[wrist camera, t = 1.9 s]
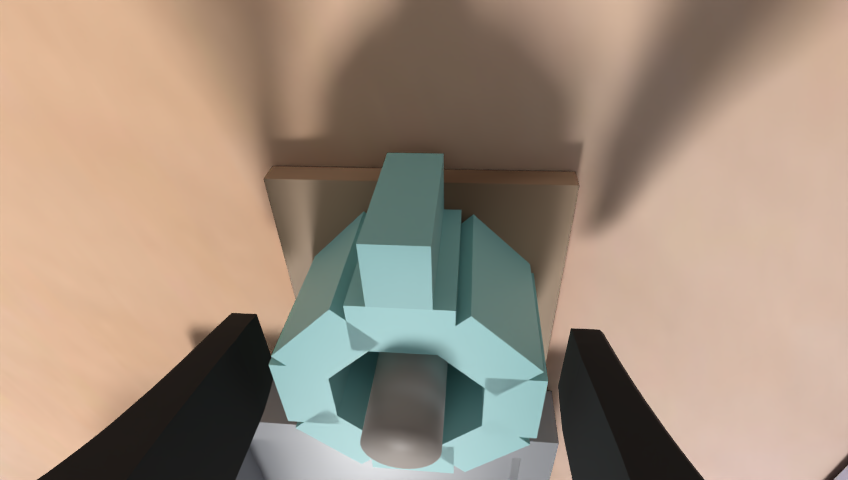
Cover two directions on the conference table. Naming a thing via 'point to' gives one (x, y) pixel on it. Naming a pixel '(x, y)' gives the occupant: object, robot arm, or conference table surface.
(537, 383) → the ring
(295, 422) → the tray
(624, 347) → the conference table surface
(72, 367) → the conference table surface
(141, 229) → the conference table surface
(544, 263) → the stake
